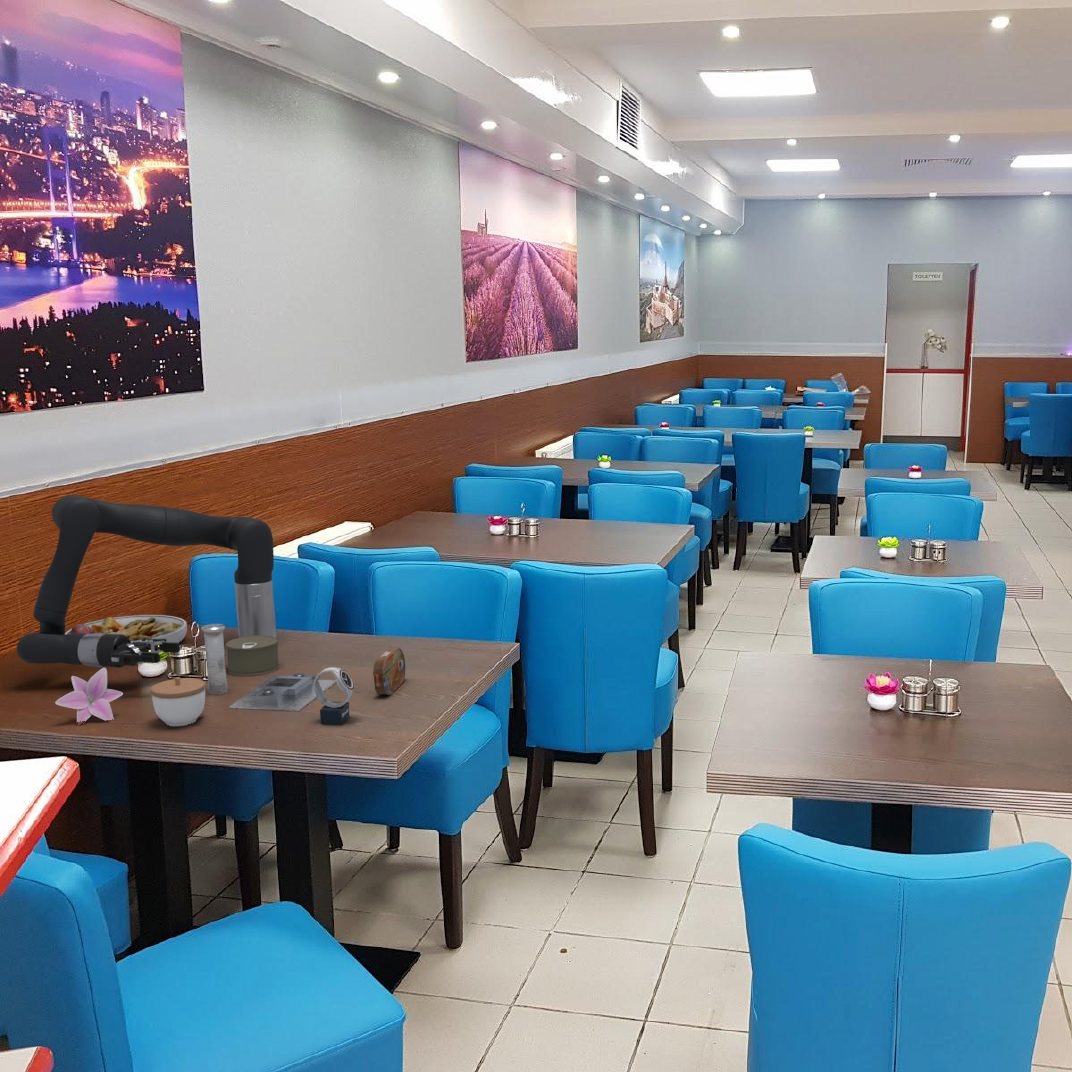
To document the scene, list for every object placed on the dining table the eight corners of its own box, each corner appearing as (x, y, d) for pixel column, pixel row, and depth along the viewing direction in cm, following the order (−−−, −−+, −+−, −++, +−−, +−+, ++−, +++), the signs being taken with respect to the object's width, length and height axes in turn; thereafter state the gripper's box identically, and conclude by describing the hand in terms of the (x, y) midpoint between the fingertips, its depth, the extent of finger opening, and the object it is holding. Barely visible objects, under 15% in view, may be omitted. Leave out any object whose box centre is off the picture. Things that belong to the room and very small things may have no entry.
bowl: (161, 626, 324) (159, 599, 323) (207, 647, 302) (204, 617, 300) (49, 647, 306) (46, 618, 304) (89, 670, 283) (86, 639, 282)
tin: (386, 700, 253) (384, 662, 251) (372, 699, 253) (370, 661, 252) (407, 679, 267) (405, 644, 266) (394, 679, 268) (392, 643, 266)
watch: (350, 725, 237) (347, 672, 235) (312, 724, 238) (309, 672, 236) (358, 716, 242) (355, 664, 240) (321, 715, 243) (318, 664, 241)
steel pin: (213, 688, 265) (208, 623, 262) (233, 689, 264) (228, 624, 261) (202, 694, 260) (197, 629, 257) (223, 695, 259) (218, 629, 256)
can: (284, 662, 285) (283, 634, 284) (272, 676, 273) (270, 647, 272) (235, 663, 285) (233, 635, 284) (221, 677, 273) (219, 648, 272)
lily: (49, 729, 243) (51, 696, 237) (75, 692, 252) (76, 659, 247) (106, 745, 243) (108, 712, 238) (129, 707, 253) (132, 675, 248)
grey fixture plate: (271, 679, 270) (270, 665, 269) (336, 682, 267) (335, 667, 266) (229, 708, 250) (228, 692, 249) (299, 711, 246) (298, 695, 246)
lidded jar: (174, 733, 235) (171, 688, 233) (143, 724, 241) (139, 680, 239) (218, 719, 243) (215, 675, 241) (186, 710, 249) (183, 667, 248)
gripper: (84, 642, 258) (151, 644, 255) (120, 626, 272) (184, 628, 269) (87, 675, 260) (153, 678, 256) (123, 657, 273) (186, 660, 270)
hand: (169, 652), depth 263 cm, fingers open, 8 cm apart
